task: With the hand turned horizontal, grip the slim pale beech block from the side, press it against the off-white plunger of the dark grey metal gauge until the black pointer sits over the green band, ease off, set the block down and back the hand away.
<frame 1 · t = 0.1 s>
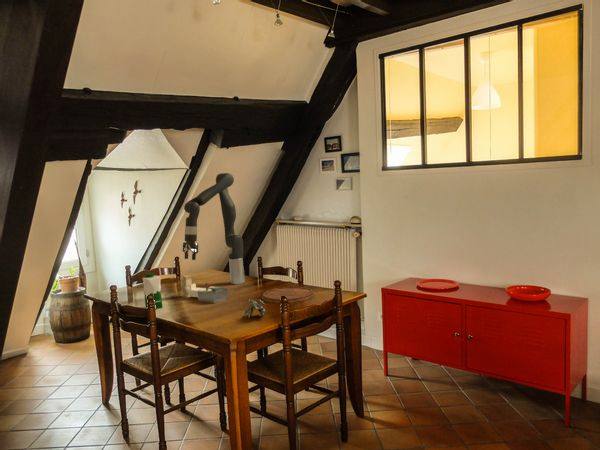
hand: (189, 259, 309), 22 cm above the table, tool pointing down, fingers open, 8 cm apart
beech block: (187, 296, 307), on the table
gauge plunger: (200, 289, 300), point 6 cm above the table, slide at 0.0 cm
passion flower: (254, 317, 254), on the table
gauge housing: (201, 298, 300), on the table
milk carton: (154, 308, 283), on the table
cutting board: (288, 297, 293), on the table
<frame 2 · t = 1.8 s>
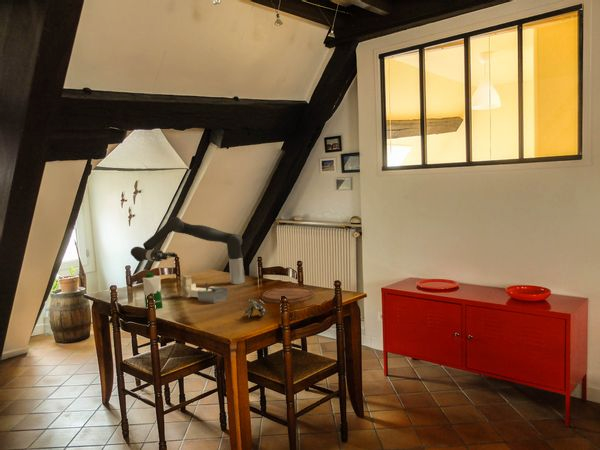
hand: (171, 256, 310), 24 cm above the table, tool horizontal, fingers open, 8 cm apart
nothing on the table moved.
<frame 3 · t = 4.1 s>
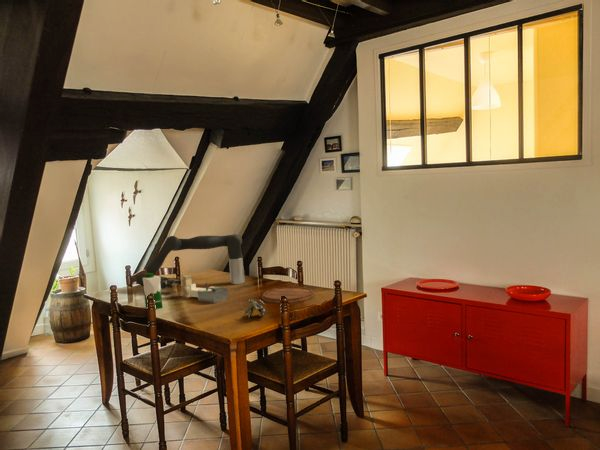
hand: (177, 284, 311), 7 cm above the table, tool horizontal, fingers open, 8 cm apart
nothing on the table moved.
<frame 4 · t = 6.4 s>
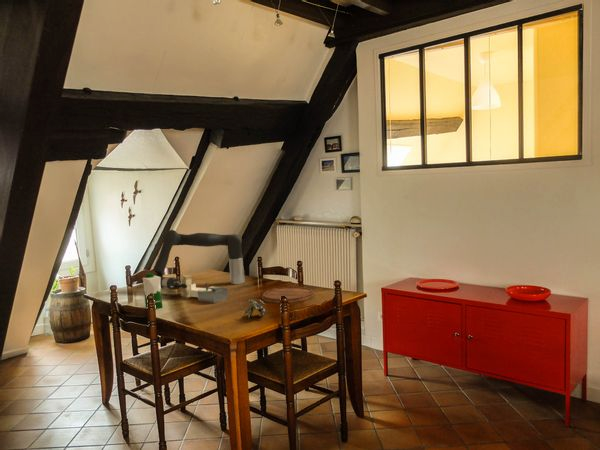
hand: (189, 285, 305), 7 cm above the table, tool horizontal, fingers closed on beech block, 4 cm apart
beech block: (187, 296, 307), on the table, touching gripper
everything else where it was.
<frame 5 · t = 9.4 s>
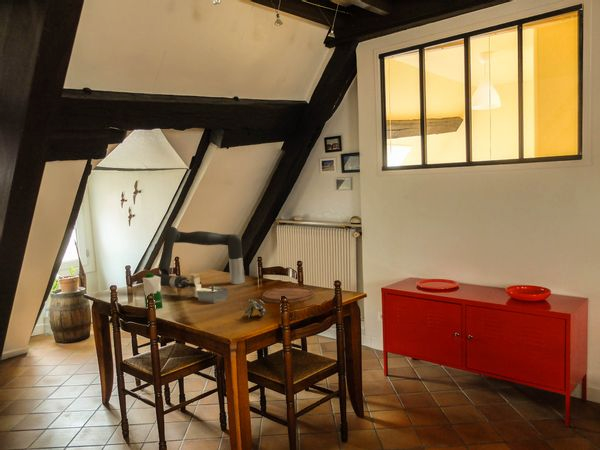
hand: (197, 284, 301), 8 cm above the table, tool horizontal, fingers closed on beech block, 4 cm apart
beech block: (195, 295, 303), point 1 cm above the table, touching gauge plunger, gripper
gauge plunger: (205, 289, 297), point 6 cm above the table, slide at 4.5 cm, touching beech block
everything else where it was.
when the fingers open (7 cm above the table, at t = 10.8 s): beech block stays where it is, on the table.
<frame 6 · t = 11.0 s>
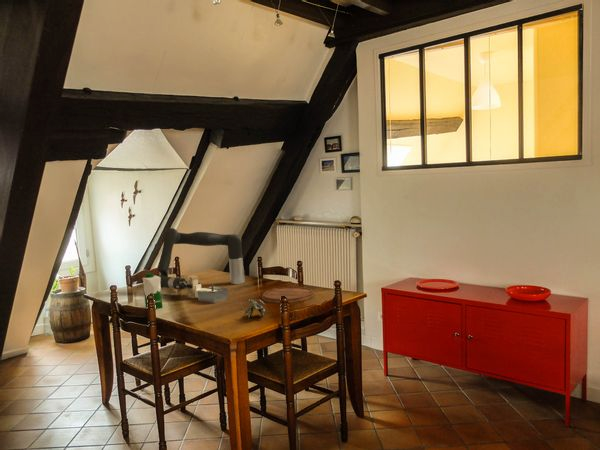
hand: (195, 285, 302), 7 cm above the table, tool horizontal, fingers open, 6 cm apart
beech block: (194, 297, 304), on the table
gauge plunger: (205, 289, 297), point 6 cm above the table, slide at 4.5 cm
everything else where it was.
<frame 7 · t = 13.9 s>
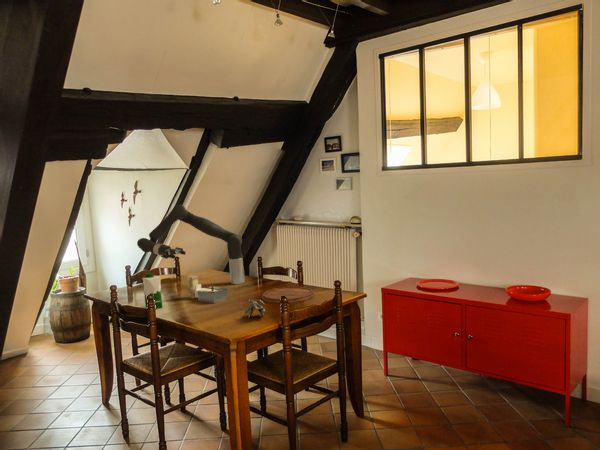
hand: (180, 255, 308), 26 cm above the table, tool horizontal, fingers open, 8 cm apart
nothing on the table moved.
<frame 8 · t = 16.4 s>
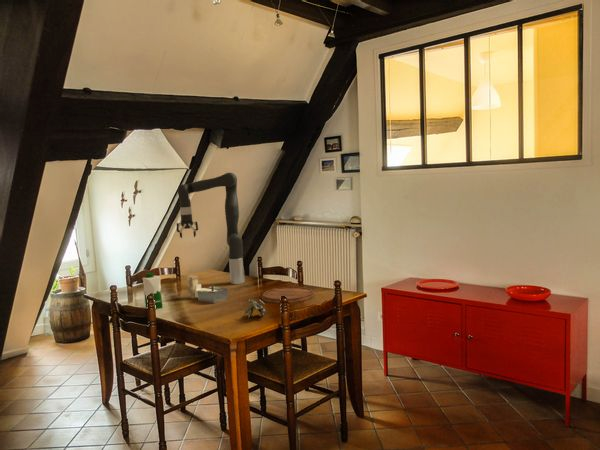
hand: (188, 237, 334), 33 cm above the table, tool pointing down, fingers open, 8 cm apart
nothing on the table moved.
at the end: gauge plunger slide at 4.5 cm; beech block tilted 0°; beech block inside the target area (0.2 cm from its centre), on the table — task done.
